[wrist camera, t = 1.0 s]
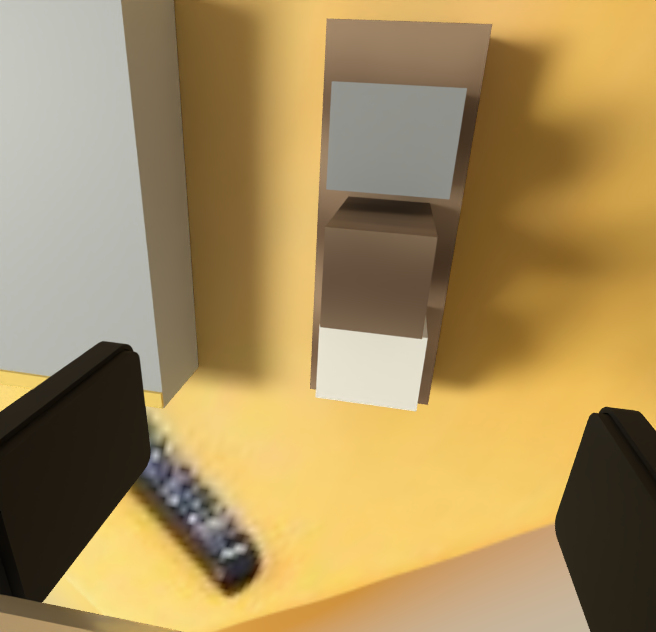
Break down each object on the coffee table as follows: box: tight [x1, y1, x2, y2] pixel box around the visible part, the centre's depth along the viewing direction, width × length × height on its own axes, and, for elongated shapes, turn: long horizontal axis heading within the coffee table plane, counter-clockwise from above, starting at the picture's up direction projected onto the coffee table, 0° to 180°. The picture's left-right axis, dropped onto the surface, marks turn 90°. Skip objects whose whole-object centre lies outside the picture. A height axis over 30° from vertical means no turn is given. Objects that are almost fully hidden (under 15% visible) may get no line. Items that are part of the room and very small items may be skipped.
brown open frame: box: [310, 19, 492, 405], centre depth 22 cm, size 19×7×10 cm, turn 177°
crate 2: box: [316, 317, 428, 411], centre depth 24 cm, size 4×5×4 cm
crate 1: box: [326, 81, 467, 199], centre depth 20 cm, size 4×5×4 cm
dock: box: [0, 0, 198, 408], centre depth 26 cm, size 22×14×5 cm, turn 177°
